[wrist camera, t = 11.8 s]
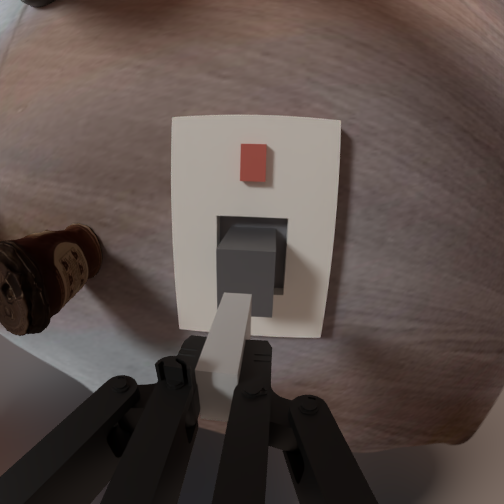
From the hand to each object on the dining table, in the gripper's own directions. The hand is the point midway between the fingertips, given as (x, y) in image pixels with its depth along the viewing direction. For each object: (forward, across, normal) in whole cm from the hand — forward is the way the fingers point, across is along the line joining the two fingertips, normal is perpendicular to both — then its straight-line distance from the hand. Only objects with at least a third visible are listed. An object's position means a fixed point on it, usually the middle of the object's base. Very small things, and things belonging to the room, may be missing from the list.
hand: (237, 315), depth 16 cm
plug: (+12, 0, 0) cm, 12 cm away
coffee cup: (+12, -19, -1) cm, 23 cm away
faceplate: (+12, 0, +2) cm, 12 cm away
